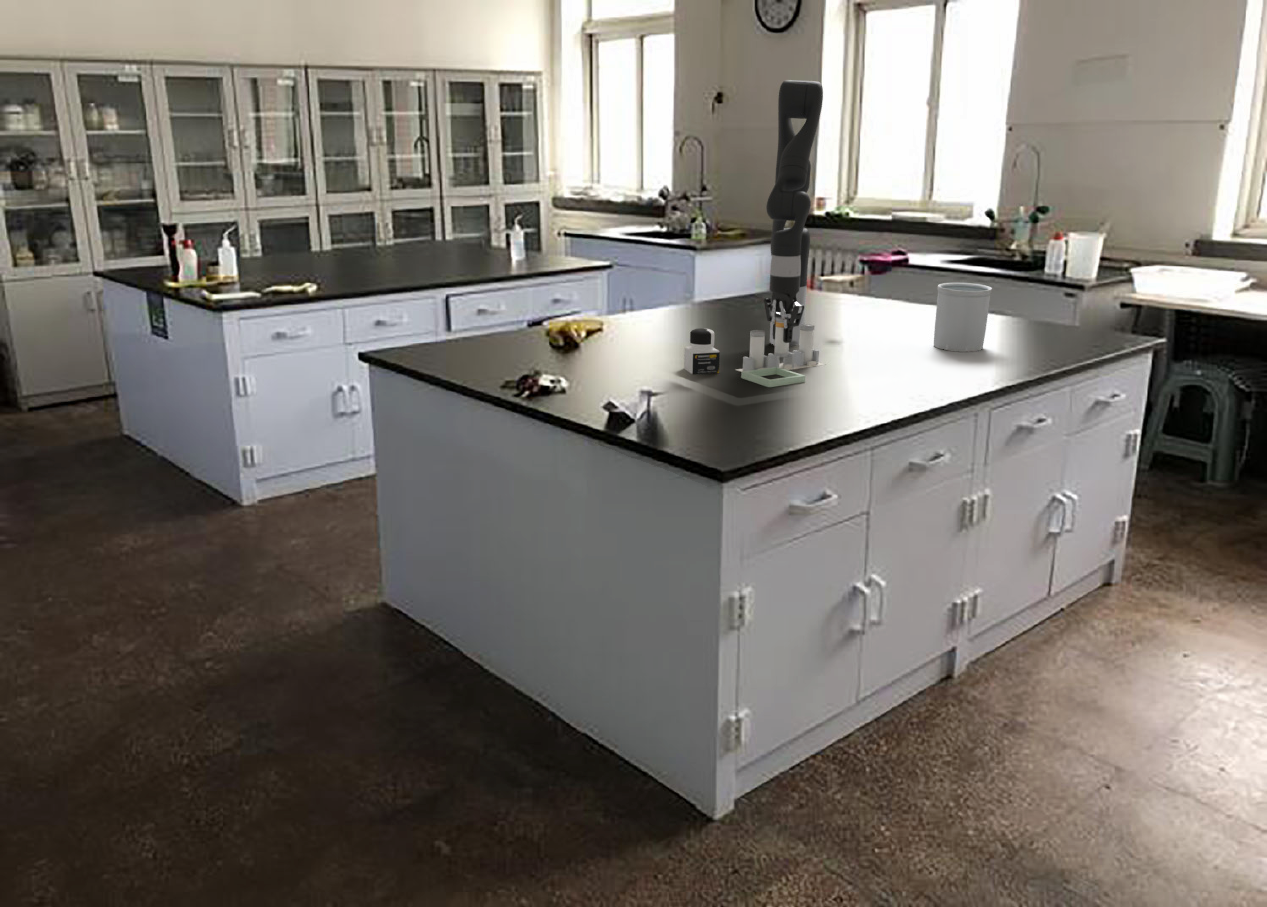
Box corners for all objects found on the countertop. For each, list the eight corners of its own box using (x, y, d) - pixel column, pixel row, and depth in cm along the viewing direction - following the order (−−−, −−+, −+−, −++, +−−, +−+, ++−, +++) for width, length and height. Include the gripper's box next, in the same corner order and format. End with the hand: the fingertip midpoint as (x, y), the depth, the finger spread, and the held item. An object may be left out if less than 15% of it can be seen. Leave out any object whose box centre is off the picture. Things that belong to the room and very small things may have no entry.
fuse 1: (745, 369, 264) (747, 330, 261) (757, 368, 266) (759, 329, 263) (754, 372, 261) (756, 333, 258) (766, 371, 263) (768, 332, 260)
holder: (734, 375, 265) (735, 356, 263) (808, 364, 277) (809, 346, 275) (751, 380, 259) (752, 361, 258) (825, 370, 271) (826, 351, 269)
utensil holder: (996, 350, 295) (1003, 289, 290) (951, 354, 291) (957, 291, 286) (965, 340, 309) (971, 281, 303) (921, 343, 304) (927, 283, 299)
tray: (741, 383, 256) (741, 371, 256) (776, 378, 262) (776, 366, 261) (768, 393, 247) (769, 380, 247) (804, 387, 253) (805, 375, 252)
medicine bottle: (692, 380, 260) (693, 332, 256) (683, 374, 266) (684, 327, 263) (719, 378, 262) (720, 331, 258) (709, 372, 268) (711, 326, 264)
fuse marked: (771, 355, 268) (772, 316, 264) (782, 353, 269) (784, 315, 266) (780, 358, 264) (782, 319, 261) (791, 356, 266) (793, 317, 263)
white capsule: (795, 363, 272) (797, 325, 269) (806, 361, 274) (808, 323, 271) (804, 365, 269) (806, 327, 266) (815, 364, 271) (817, 326, 268)
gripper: (815, 275, 256) (811, 344, 262) (779, 268, 268) (776, 334, 273) (791, 278, 253) (788, 347, 258) (756, 270, 264) (753, 337, 270)
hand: (782, 340), depth 266 cm, fingers closed on fuse marked, 3 cm apart
